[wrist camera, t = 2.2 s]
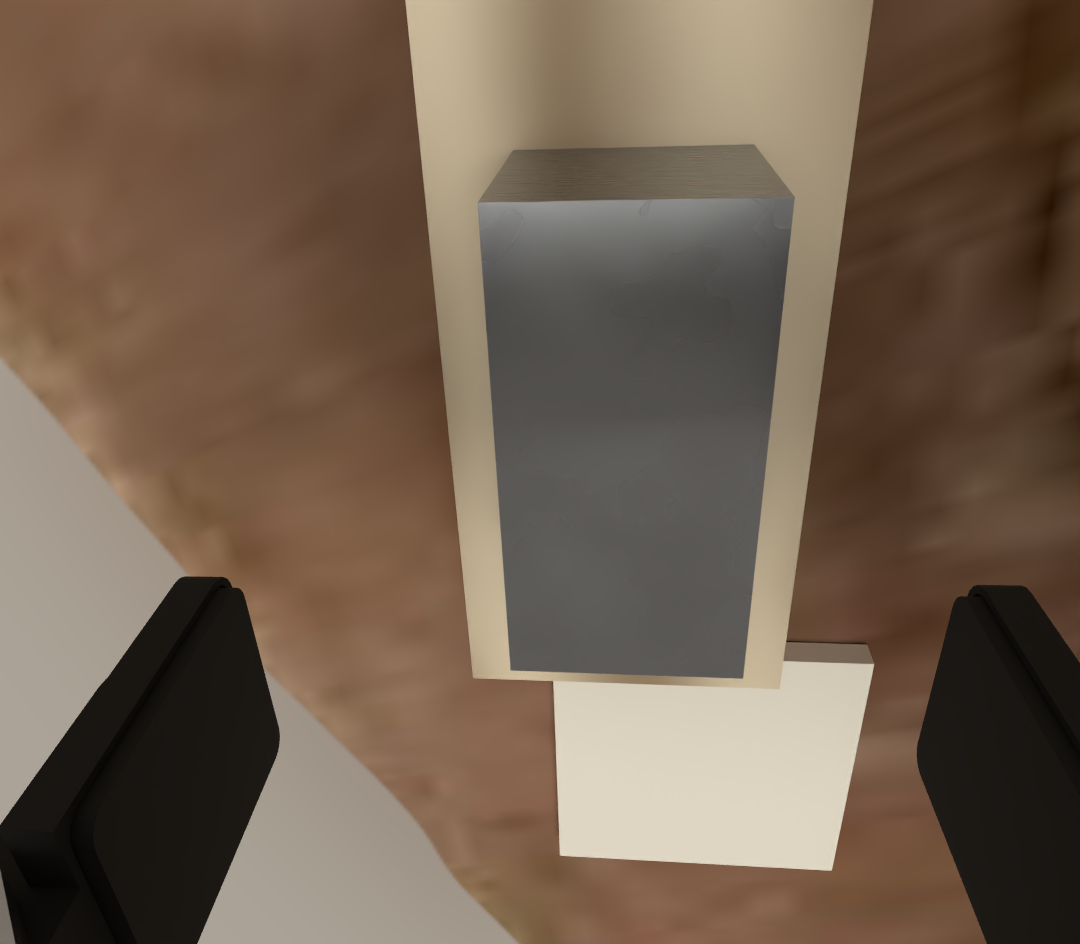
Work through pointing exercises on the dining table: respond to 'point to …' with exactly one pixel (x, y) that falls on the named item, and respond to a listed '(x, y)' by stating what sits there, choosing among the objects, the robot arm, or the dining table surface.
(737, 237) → the grey metal block
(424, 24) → the body
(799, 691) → the tile
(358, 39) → the dining table surface
